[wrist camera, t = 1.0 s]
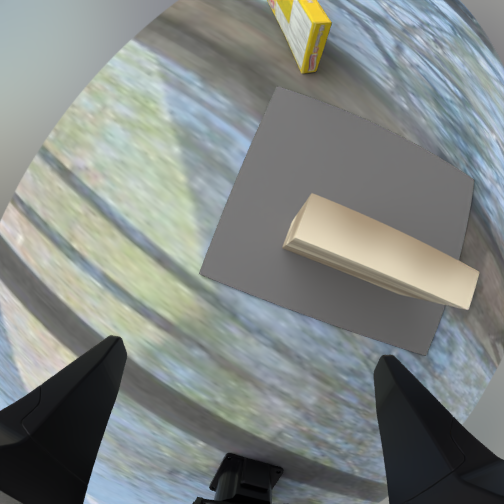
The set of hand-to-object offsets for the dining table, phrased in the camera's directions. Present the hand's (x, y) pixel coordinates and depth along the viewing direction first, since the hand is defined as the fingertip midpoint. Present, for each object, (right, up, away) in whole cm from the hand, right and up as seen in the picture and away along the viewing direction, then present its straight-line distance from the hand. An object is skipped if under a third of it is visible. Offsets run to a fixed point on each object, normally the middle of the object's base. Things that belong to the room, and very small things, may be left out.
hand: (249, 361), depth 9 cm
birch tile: (+9, +3, +16) cm, 19 cm away
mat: (+10, +7, +17) cm, 21 cm away
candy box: (+4, +30, +18) cm, 36 cm away
